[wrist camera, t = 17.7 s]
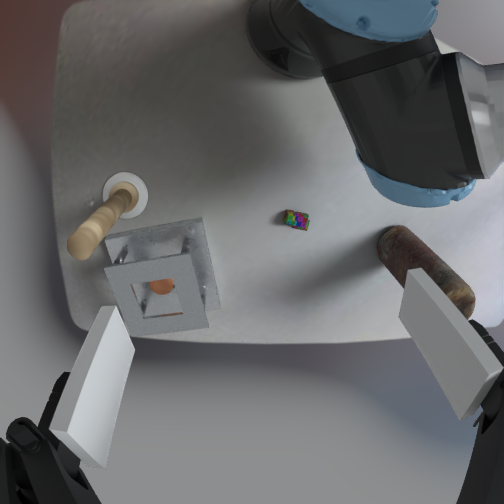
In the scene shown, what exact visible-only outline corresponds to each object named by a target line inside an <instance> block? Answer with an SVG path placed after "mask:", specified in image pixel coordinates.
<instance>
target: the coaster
mask: <svg viewBox="0 0 504 504" xmlns="http://www.w3.org/2000/svg"><path fill="white" fill-rule="evenodd" d="M122 181H126V182H129V183H131V184H133V185H134V186H135V187H136V189H137V190H138V193H139V200H138V203H137V205H136V206H135V207H134V208H133V209H132V210H131V211H129V212H127V213H122V215H121V216H120V217H119V218H122V219H131V218H134V217H136V216H138V215H139V214H140V213H141V212H142V211H143V210H144V209H145V207H146V205H147V202H148V191H147V187H146V185H145V183H144V182H143V181H142V179H141V178H139V177H138V176H137V175H135V174H133V173H129V172H121V173H117V174H115V175H113V176H112V177H111V178H109V179H108V181H107V182H106V184H105V186H104V189H103V201H104V202H105V201H106V200H107V199H108V197H109V192H110V190H111V188H112V187H113V186H114V185H116V184H117V183H119V182H122Z"/></svg>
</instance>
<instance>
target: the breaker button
mask: <svg viewBox="0 0 504 504" xmlns="http://www.w3.org/2000/svg"><path fill="white" fill-rule="evenodd" d="M173 285H174V282H173V279H172V278H169V279H162V280H155V281H149V286H150V288H151V290H152V291H153V292H155V293H156V294H159V295H166V294H168V293H170V292H171V291H172V289H173Z"/></svg>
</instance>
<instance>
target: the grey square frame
mask: <svg viewBox="0 0 504 504" xmlns="http://www.w3.org/2000/svg"><path fill="white" fill-rule="evenodd" d="M105 243H106V246H107V249H108V252H109V255H110V258H111V261H112V264H113V265H108V266H105V267H104V271H105V273H106V276H107V278H108V281H109V284H110V286H111V289H112V291H113V294H114V296H115V299H116V301H117V303H118V306H119V308H120V311H121V313H122V315H123V318H124V320H125V322H126V324H127V327H128V329H129V331H130V333H131V335H132V336H142V335H152V334H161V333H170V332H178V331H187V330H194V329H202V328H209V324H208V320H207V317H206V313H205V311H208V310H215V309H220V299H219V294H218V290H217V285H216V281H215V276H214V272H213V267H212V263H211V258H210V253H209V249H208V244H207V239H206V234H205V230H204V225H203V220H202V218H197V219H191V220H185V221H180V222H174V223H168V224H163V225H158V226H152V227H147V228H142V229H136V230H131V231H126V232H121V233H116V234H111V235H108V236H107V238H106V239H105ZM169 278H172V279H173V282H174V285H173V289H172V291H171V292H170V293H168V294H166V295H159V294H156V293H155V292H153V291H152V290H151V288H150V286H149V281H155V280H162V279H169Z"/></svg>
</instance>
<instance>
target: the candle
mask: <svg viewBox="0 0 504 504" xmlns="http://www.w3.org/2000/svg"><path fill="white" fill-rule="evenodd" d="M377 249H378V256H379V259H380V260H381V262H382V263H383V264H384V265H385V266H386V268H387V269H388V270H389V271H390V273H391V274H392V275H393V276H394V277H395V278H396V280H397V281H398V282H399V283H400V285H401V286H402V287H403V288H405V283H406V277H407V271H408V270H411V269H417V268H422V269H423V270H424V271H425V272H426V273H427V275H428V276H429V277H430V278H431V279H432V280H433V281H434V282H435V283H436V284H437V286H438V287H439V288H440V289H441V290H442V291H443V292H444V293H445V295H446V296H447V297H448V298H449V299H450V300H451V302H452V303H453V304H454V305H455V306H456V307H457V309H458V310H459V311H460V312H461V313H462V315H463V316H464V317H465V318H466V319H467V320H468V319H469V317H470V316H471V315H472V313H473V311H474V308H475V295H474V292H473V291H472V289H471V288H470V286H469V285H468V284H467V283H466V282H465V281H464V280H463V279H462V278H461V277H460V276H459V275H458V274H456V273H455V272H454V271H453V270H452V269H451V268H450V267H449V266H448V265H447V264H446V263H445V262H444V261H443V260H442V259H441V258H440V257H439V256H438V255H437V254H435V253H434V252H433V251H432V250H431V249H430V248H429V247H428V246H427V245H426V244H425V243H424V242H423V241H422V240H420V239H419V238H418V237H417V236H416V235H415V234H414V233H413V232H411V231H410V230H409V229H408V228H407V227H405V226H400V225H398V226H395V227H393V228H391V229H390V230H389V231H388V232H386V233H385V234H384V235H383V236H382V237H381V239H380V240H379V243H378V248H377Z"/></svg>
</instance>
